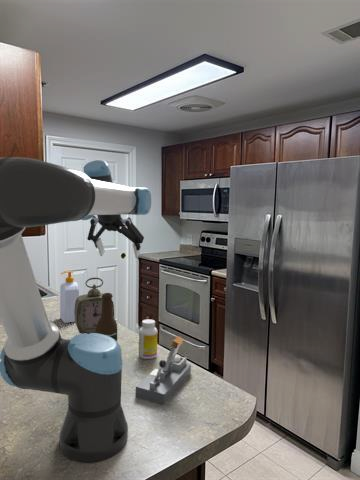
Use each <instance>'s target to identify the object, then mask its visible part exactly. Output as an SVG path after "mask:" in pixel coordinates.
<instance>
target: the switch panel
mask: <svg viewBox="0 0 360 480" xmlns="http://www.w3.org/2000/svg"><path fill="white" fill-rule="evenodd" d="M167 358H168V356H167V357H166V358H165V359H164V360H165V361H166V360H167ZM187 358H188V357H185V356H184V357H183V356H181V359H180V362H179V363H174V362H173V363H172V366H171V368H170V371H169V372H168V373H167V374H166V375H165V372H162V371H161V373H160V376H159V378H158V383H157V384H156V385H155V383H154V380H155V377H156V375H157V372H158V370H159V367H160V365H159V364H158V365H157V367H155V368H154V369H153V370H152V371H150V373H149V374H148V375H147V376H146V377H145V378H144V379H142V380H141V381H140V382H139V383H138V384H137V385H136V386H135V398H139V399H141V400H146V401H149V402H152V403H156V404H160V405H164V406H165V405H166V404H167V402H169V400H170V399H171V398H172V396H174V394H175V393H176V392H177V390H178V389H180V387H181V385H183V383H184V382H185V381H186V380H187V379H188V377H189V376H190V375H191V373H192V371H191V370H192V364H190V363H187ZM163 368H164V367H163ZM162 370H163V369H162Z"/></svg>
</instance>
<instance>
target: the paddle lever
mask: <svg viewBox="0 0 360 480" xmlns="http://www.w3.org/2000/svg"><path fill="white" fill-rule="evenodd" d="M183 343H184V338H183V337H181V336H176V338H174V339H173V341H172V342H171V348H170V350H169V354H168V355H167V357H168V358H167V357H166V358H167V360H166V366H165V367H164V368H163V370H162V372H165V375H166V374H167V373H168V372H169V371H170V368H171V366H172V363H173V361H174V358H175V356H176V354H177V353H178V351H179V349H180V346H181V345H182V344H183ZM177 355H178V354H177Z"/></svg>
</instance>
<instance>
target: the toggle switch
mask: <svg viewBox="0 0 360 480" xmlns="http://www.w3.org/2000/svg"><path fill="white" fill-rule="evenodd" d="M159 365H160V367H159V370H158V372H157V375H156V377H155V380H154V383H155V385H156V384H157V383H158V378H159V376H160V373H161V371H162V369H163V367H165V366H166V361H165V359H162V360H159V363H158V366H159Z"/></svg>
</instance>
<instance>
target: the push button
mask: <svg viewBox="0 0 360 480" xmlns="http://www.w3.org/2000/svg"><path fill="white" fill-rule="evenodd" d="M181 357H182V355H180V354H176V356H175V358H174V361H173V362H174V363H179V362H180V359H181Z"/></svg>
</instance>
